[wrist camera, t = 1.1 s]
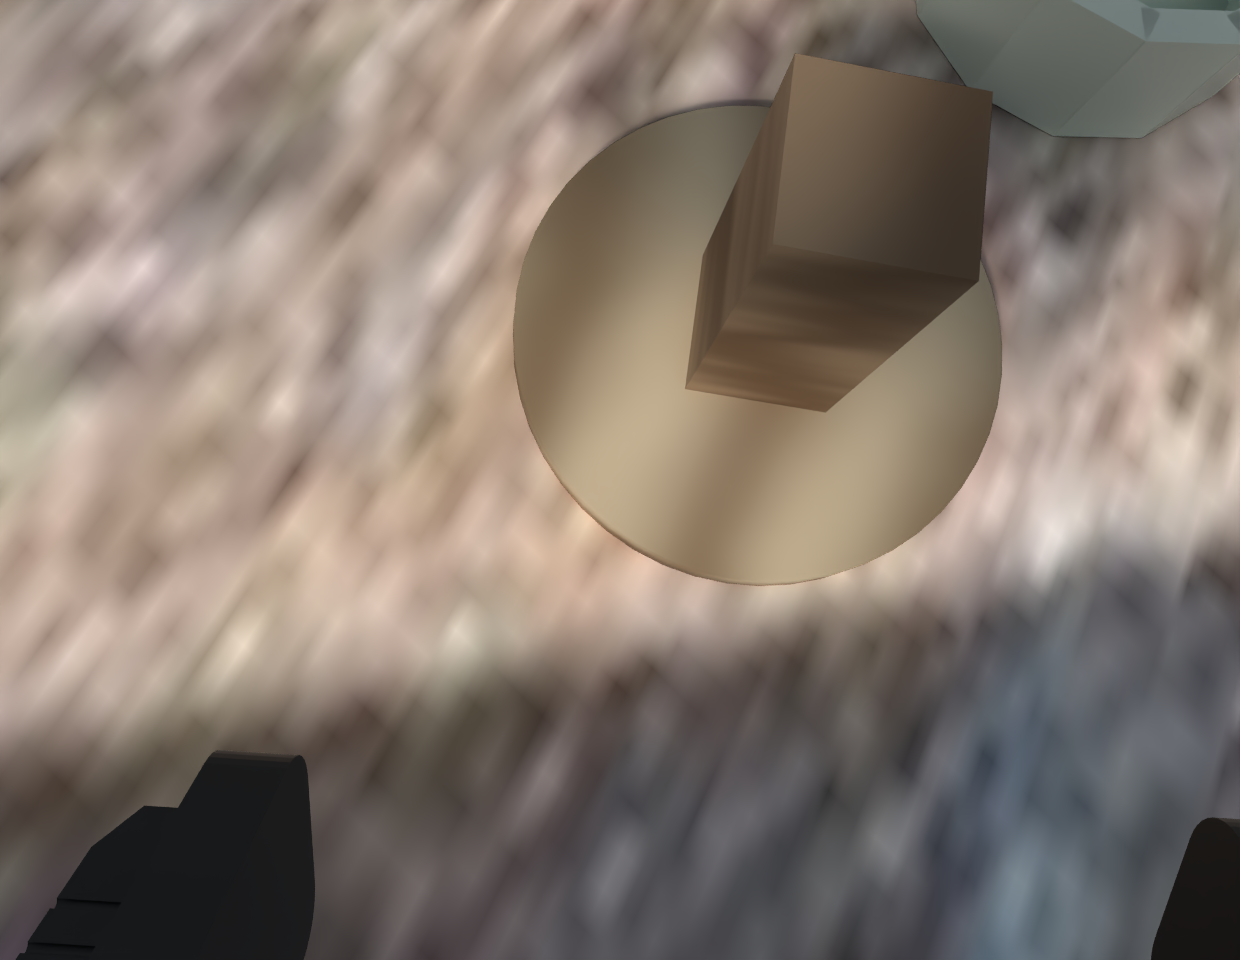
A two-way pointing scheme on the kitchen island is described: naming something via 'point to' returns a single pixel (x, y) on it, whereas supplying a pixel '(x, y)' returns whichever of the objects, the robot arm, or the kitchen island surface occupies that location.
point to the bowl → (1090, 58)
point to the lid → (769, 325)
